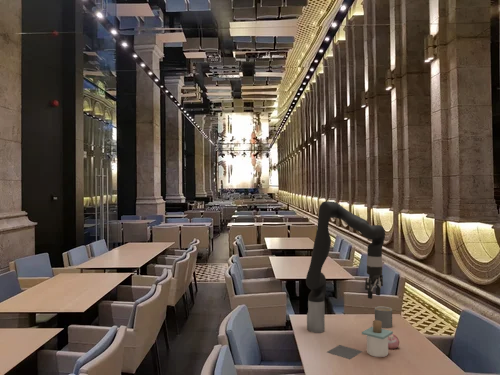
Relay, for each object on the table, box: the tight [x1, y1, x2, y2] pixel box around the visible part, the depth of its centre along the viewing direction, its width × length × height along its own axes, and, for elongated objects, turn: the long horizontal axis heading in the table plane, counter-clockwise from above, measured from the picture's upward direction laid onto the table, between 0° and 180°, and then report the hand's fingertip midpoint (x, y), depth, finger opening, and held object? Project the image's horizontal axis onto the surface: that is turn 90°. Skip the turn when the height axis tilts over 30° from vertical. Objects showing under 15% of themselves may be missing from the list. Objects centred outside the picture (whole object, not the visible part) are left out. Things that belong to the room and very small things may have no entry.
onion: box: [388, 333, 400, 350], centre depth 208 cm, size 8×8×7 cm
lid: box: [361, 319, 394, 339], centre depth 200 cm, size 11×11×6 cm
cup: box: [366, 335, 389, 358], centre depth 200 cm, size 10×10×10 cm
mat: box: [326, 344, 363, 360], centre depth 202 cm, size 13×13×1 cm
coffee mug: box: [374, 305, 393, 329], centre depth 245 cm, size 13×10×10 cm
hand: (374, 296), depth 206 cm, fingers open, 8 cm apart
